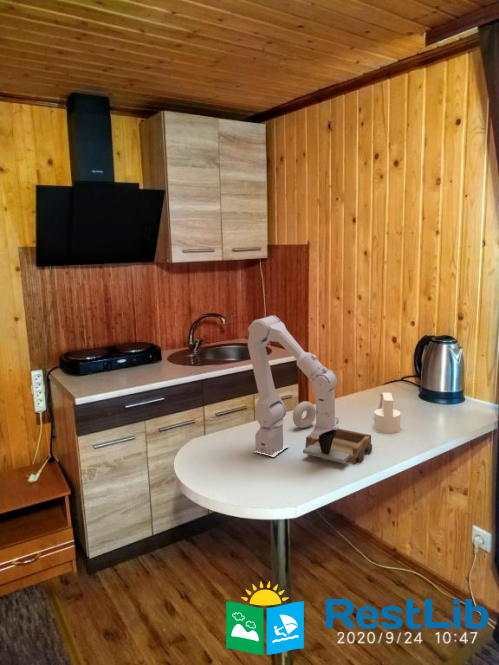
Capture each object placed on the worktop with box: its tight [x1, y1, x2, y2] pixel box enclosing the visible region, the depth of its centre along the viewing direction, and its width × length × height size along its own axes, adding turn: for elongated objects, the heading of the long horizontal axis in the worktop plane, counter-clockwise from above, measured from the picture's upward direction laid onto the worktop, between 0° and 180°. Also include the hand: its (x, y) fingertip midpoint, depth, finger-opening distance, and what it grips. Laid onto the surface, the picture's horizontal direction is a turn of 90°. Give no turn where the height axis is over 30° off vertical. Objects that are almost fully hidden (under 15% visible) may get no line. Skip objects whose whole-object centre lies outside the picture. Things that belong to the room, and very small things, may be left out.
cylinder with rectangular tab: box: [373, 392, 401, 434], centre depth 171 cm, size 9×9×12 cm
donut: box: [292, 400, 316, 429], centre depth 175 cm, size 10×4×10 cm, turn 124°
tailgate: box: [302, 445, 350, 464], centre depth 148 cm, size 2×14×5 cm
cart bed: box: [305, 428, 373, 465], centre depth 155 cm, size 12×19×5 cm, turn 55°
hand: (325, 452), depth 147 cm, fingers closed, pressing on tailgate
